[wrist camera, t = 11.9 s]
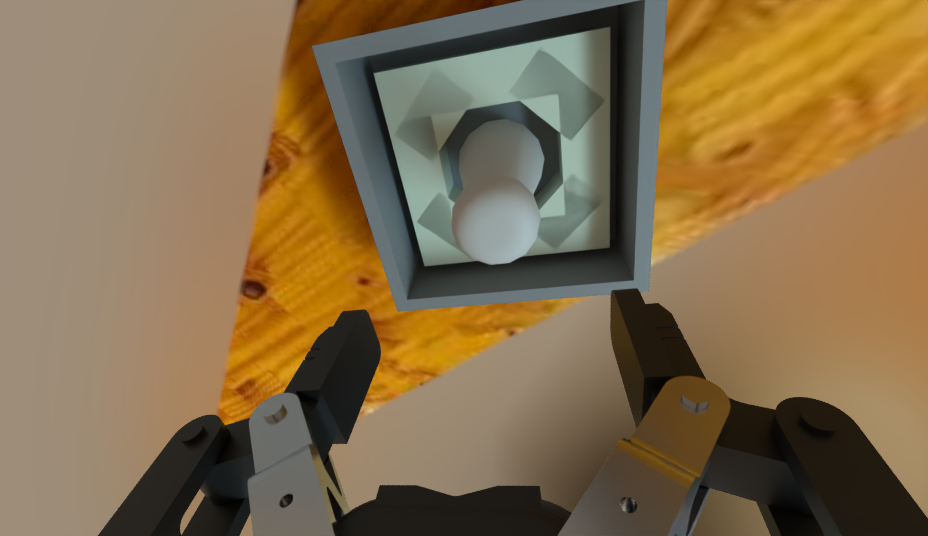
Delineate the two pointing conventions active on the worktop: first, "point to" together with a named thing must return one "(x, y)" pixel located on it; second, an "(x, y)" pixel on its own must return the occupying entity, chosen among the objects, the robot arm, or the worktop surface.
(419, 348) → the worktop surface
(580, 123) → the bore box
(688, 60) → the worktop surface
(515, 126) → the salt shaker
